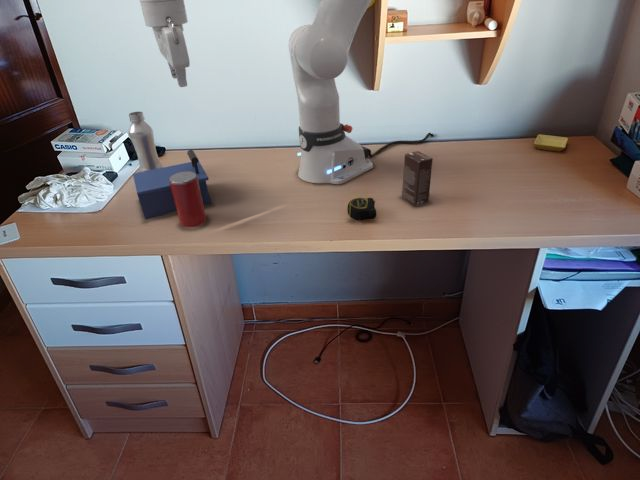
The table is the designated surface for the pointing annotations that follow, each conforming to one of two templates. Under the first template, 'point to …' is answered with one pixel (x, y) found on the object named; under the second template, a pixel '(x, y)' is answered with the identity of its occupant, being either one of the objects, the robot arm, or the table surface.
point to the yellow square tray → (550, 142)
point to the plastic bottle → (143, 142)
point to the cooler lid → (167, 175)
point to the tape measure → (362, 209)
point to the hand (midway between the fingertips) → (179, 81)
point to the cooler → (165, 201)
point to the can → (188, 199)
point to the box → (417, 178)
